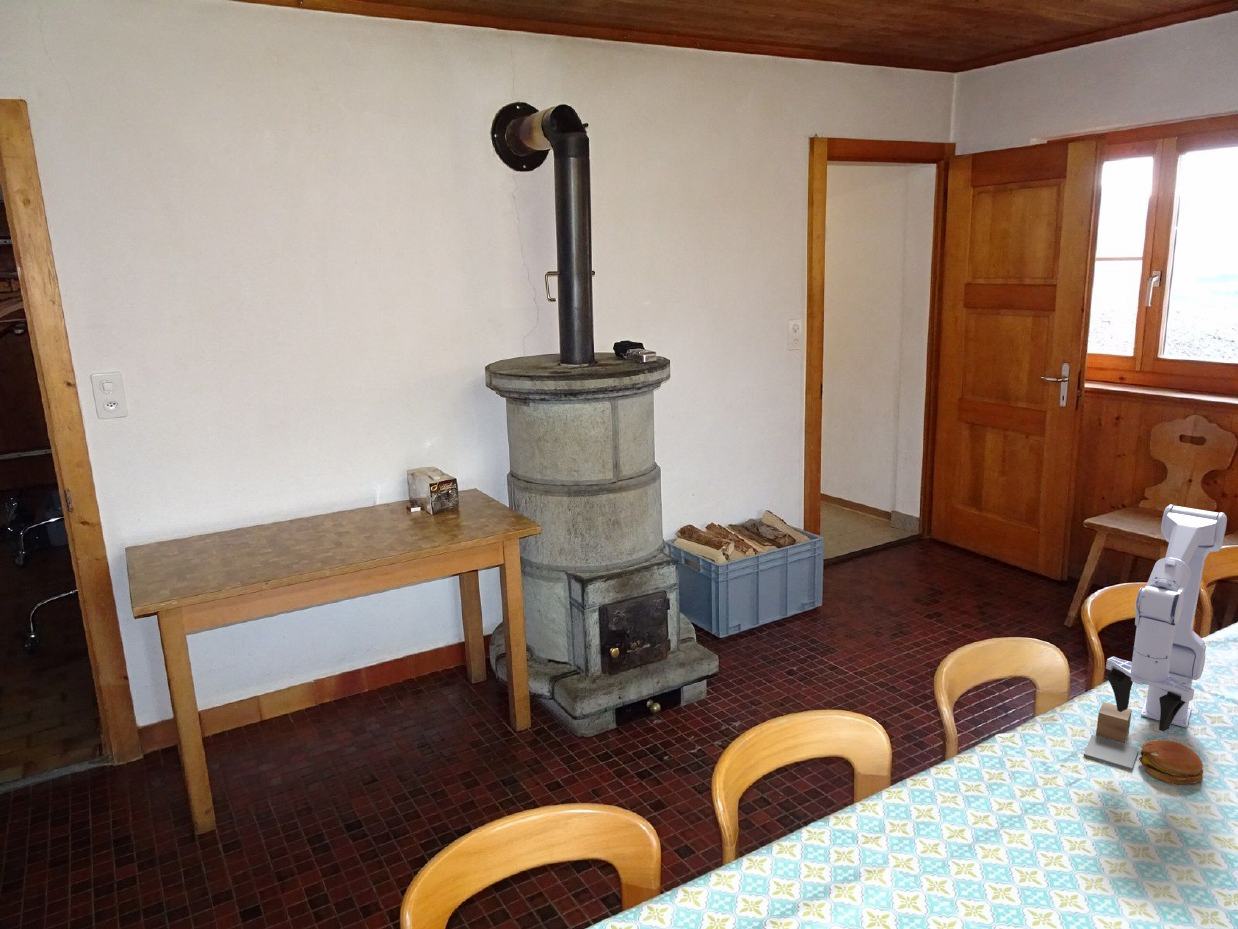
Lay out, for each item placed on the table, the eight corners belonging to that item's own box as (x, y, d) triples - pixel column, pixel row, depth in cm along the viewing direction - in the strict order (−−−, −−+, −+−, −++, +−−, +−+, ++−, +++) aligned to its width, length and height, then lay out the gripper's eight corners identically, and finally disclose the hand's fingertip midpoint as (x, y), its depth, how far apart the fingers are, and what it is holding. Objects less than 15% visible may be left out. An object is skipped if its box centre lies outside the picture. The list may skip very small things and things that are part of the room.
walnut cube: (1100, 724, 175) (1103, 701, 174) (1128, 732, 172) (1131, 709, 171) (1095, 735, 171) (1098, 712, 170) (1124, 743, 168) (1127, 720, 167)
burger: (1212, 777, 157) (1215, 754, 156) (1183, 793, 153) (1186, 770, 152) (1156, 750, 166) (1159, 729, 164) (1127, 766, 161) (1130, 743, 160)
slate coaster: (1091, 737, 170) (1091, 734, 170) (1138, 750, 165) (1138, 748, 165) (1083, 756, 164) (1083, 753, 164) (1131, 771, 159) (1132, 768, 159)
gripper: (1099, 641, 159) (1091, 707, 162) (1181, 674, 147) (1171, 745, 150) (1122, 632, 162) (1114, 697, 166) (1204, 663, 150) (1193, 733, 154)
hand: (1142, 719), depth 158 cm, fingers open, 7 cm apart
